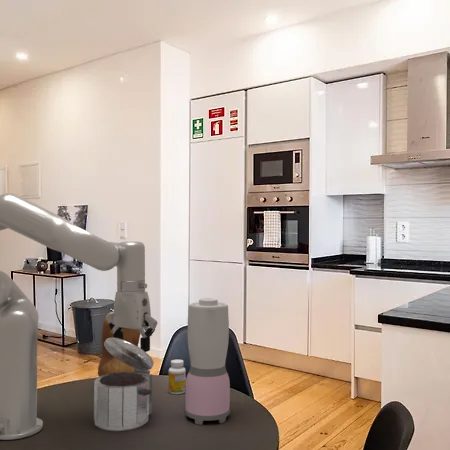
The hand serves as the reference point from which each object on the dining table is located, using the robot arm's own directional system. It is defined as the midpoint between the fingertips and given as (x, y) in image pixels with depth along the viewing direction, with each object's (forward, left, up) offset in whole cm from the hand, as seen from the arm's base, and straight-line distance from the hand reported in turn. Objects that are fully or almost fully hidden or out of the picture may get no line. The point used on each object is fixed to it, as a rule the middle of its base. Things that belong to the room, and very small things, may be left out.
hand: (131, 349), depth 136 cm
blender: (+13, -16, -19) cm, 28 cm away
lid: (-1, 0, -2) cm, 2 cm away
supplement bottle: (+24, +2, -19) cm, 30 cm away
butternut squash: (+15, +18, -19) cm, 30 cm away
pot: (-3, 0, -18) cm, 19 cm away
